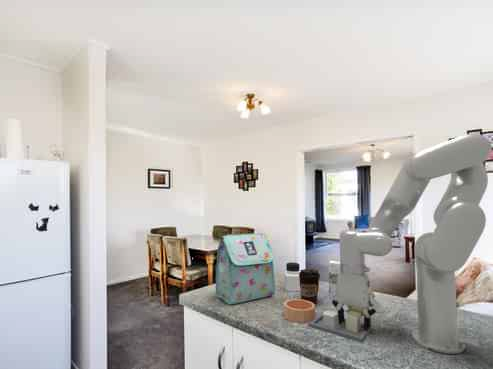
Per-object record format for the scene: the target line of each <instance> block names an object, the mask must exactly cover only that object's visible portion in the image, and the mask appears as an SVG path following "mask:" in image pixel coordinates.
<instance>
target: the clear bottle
mask: <svg viewBox="0 0 493 369" xmlns="http://www.w3.org/2000/svg"><path fill="white" fill-rule="evenodd" d="M339 271H340V260H335V259H331V260H330V261H328V288H329V289H328V295H330V294H331V293H333V292H334V291H336V285H337V277H338V272H339ZM334 297H336V295H335V296H334Z"/></svg>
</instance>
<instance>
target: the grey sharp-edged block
mask: <svg viewBox="0 0 493 369" xmlns="http://www.w3.org/2000/svg"><path fill="white" fill-rule="evenodd" d="M325 311H326V312H325ZM325 311H324V312H325V313H324V312H323V313H324V314H323V326H325V327H328V328H332V329H335V330H336V329H337V328H338V312H337V311H331V310H325Z"/></svg>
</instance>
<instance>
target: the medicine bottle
mask: <svg viewBox="0 0 493 369" xmlns="http://www.w3.org/2000/svg"><path fill="white" fill-rule="evenodd" d="M285 268H286V270H285V271H284V272H283V273H284V278H283V280H284V283H283V284H284V285H283V286H284V290H285V291H286V292H300V280H299V273H300V272H301V271H300V264H299V263H298V262H294V261H290V262H287V263H286V265H285Z"/></svg>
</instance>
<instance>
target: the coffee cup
mask: <svg viewBox="0 0 493 369" xmlns="http://www.w3.org/2000/svg"><path fill="white" fill-rule="evenodd" d="M299 272H300V273H299V280H300V291H299V292H300V299H302V300H307V301H310V302H312V303H313V304H314V305H315V306H316V305H318V294H319V287H320V286H319V281H320V277H321V274H320V273H319V269H314V268H305V269H300V271H299Z"/></svg>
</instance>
